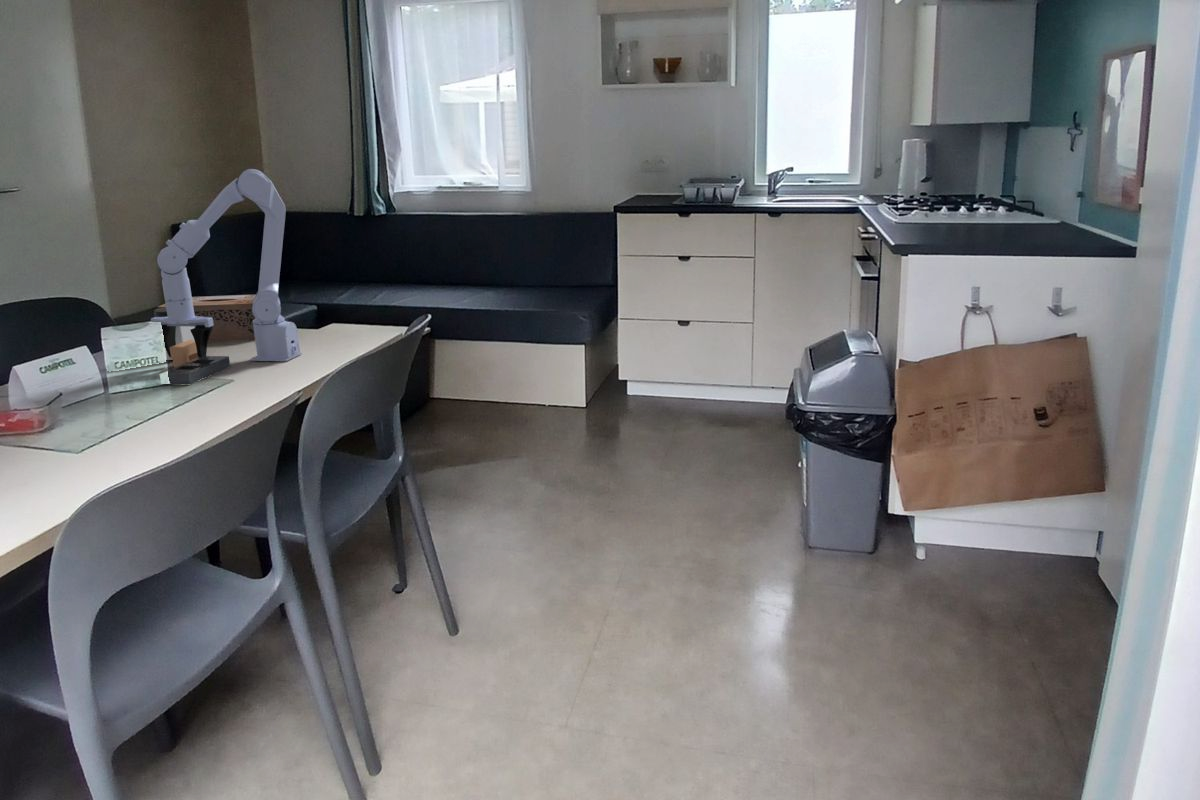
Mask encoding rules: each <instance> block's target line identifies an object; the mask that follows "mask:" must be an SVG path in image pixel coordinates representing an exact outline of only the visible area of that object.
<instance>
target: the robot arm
mask: <svg viewBox="0 0 1200 800" xmlns="http://www.w3.org/2000/svg"><path fill="white" fill-rule="evenodd" d="M245 197H246V198H248V199H249V200H251V201H252V202H254V203H255V204H256V205H257V206H258V208H259V209H260V210H261V211H262V212H263V213H264V224H263V234H262V235H263V236H262V248H261V257H260V259H261V260H260V268H259V269H260V270H259V276H258V277H259V279H258V291H257V292H256V294H255V295H256V296H255V297H254V299H253V306H252V312H253V315H254V316H255V319H254V320H253V328H254V335H255V340H254V342H255V349H256V355H255V356H253V357H251V358H250V359H249V361H250V362H288V361H290V360H292V359H294V358H296V357H298V356H300V355H302V353H303V351H301V349H300V340H299V334H298V333H299V332H298V328H297V325H296V324H295V322H292V321H288V320H285V317H284V316H282V314H281V312H282V307H281V300H280V297H279V287H280V286H279V285H280V275H281V273H280V272H281V264H282V253H283V243H284V242H283V241H284V234H285V222H286V213H287V212H286V210H287V209H286V204H285V203H284V201H283V199H282V198H281V196H280V194H279V193H278V191H277V189H276V187H275V185H274V183H273V181H272V180H271V179H270V178H269V177H268V176H266V174H265V173H264V172H262V171H260V170H259V169H256V168H255V169H254V168H248V169H246V170H244V171H242V173H241V174H240V175H239V177H237V178H235V179H234V180H232V181H231V182H230V183H229V184H227V185H226V186H225V187H223V189H222V190H221V191H220V192H219V193H218V195H216V197H215V198H214V200H212V202H211V203H210V204H209V206H208V207H207V208H206V209H205V210H204V211H203V213H202V214H201V215H200V216H199V218H197V219H190V220H187V221H186V223H185V222H182V223H181V224H180V225H179V231H178V232H176V234H175V235H174V236H173V237H172V238H171V239H168V240H167V241H165V244H166V245H167V246H166V247H164V248H162V249H161V250H160V251H159V253H158V254H157V259H156V261H157V265H158V267H159V268H160V276H161V278H162V279H161V284H162V289H163V296H164V302H165V303H166V310H167V316H168V317H155V316H154V317H151V318H150V322H161V325H162V329H163V335H164V342H165V348H166V351H167V353H168V355H169V357H171V353H170V347H172V346H174V345H176V341H175V333H176V326H196V328H193V329H190V330H191V333H192V335H193V337H194V340H195V343H196V348H197V354H198V357H203V356H207V351H208V349H207V348H208V343H209V342H208V340H209V336H210V334H211V331H212V329H213V327H212V326H213V325H214V324H213V318H212V317H200V316H195V314H194V308H193V301H192V297H193V296H192V290H191V283H190V279H189V276H188V271H187V267H186V266H187V264H188V259H192V258H194V256H195V255H196V254H197V253H198V252H199V251H200V249H201V248H202V247H203V246H204V245H205V244H206V243H207V241H209V239H210V237H211V234H210V233H211V232H210V228H211V227H212V226H213V225H214V224H215V223H216V222H217V221H218V220H219V219H220V217H221V216H222V215H224V213H225V212H227V210H228V209H229V208H230V206H232V205H234V204H236V203H241V202H243V201H244V200H245V199H246V198H245ZM165 303H164V304H165ZM185 323H188V324H185Z"/></svg>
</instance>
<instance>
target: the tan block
mask: <svg viewBox="0 0 1200 800" xmlns="http://www.w3.org/2000/svg"><path fill="white" fill-rule="evenodd" d="M170 353H171V358H172V360H173V361H172V365H173V368H174V367H176V366H178V365H181V364H183V363H186V362H188V361H191V360H193V359H195V358H198V354H197V348H196V343H195V340H188V341H185V342H182V343H180V344H177V345H174V346H172V347H170Z"/></svg>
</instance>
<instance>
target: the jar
mask: <svg viewBox="0 0 1200 800" xmlns="http://www.w3.org/2000/svg"><path fill="white" fill-rule="evenodd" d="M153 314H154V318H155V317H168V316H167V310H166V307H163V308H159V309H158V308H155V309H154V310H153ZM185 324H188V323H185ZM193 328H195V326H176V333H175V341H176V345H177V344H180V343H182V342H185V341H188V340H194V337H193V335H192V333H191V330H190V329H193ZM167 355H168V353H167ZM168 358H169V360H172V358H171V357H169V355H168Z"/></svg>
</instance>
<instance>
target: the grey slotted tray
mask: <svg viewBox="0 0 1200 800" xmlns="http://www.w3.org/2000/svg"><path fill="white" fill-rule="evenodd" d="M229 368H231V363H230V356H227V355H225V356H224V355H223V356H222V355H221V356H220V355H206V356H203V357H198V358H195V359H193V360H191V361H188V362H186V363H183V364H181V365H178V366H176V367H174V366H173V367H172V368H169V369H167V370H168V377H169V381H170V383H171V384H191V383H194V382H196V381H198V380H200V379H202V378H205V377H207V378H208V376H209V377H211V376H213V375H215V373H216V374H217V372H218V373H220V372H221V371H224V370H226V369H229ZM210 375H211V376H210ZM205 379H206V378H205ZM202 380H203V379H202ZM200 381H201V380H200ZM198 382H199V381H198ZM196 383H197V382H196ZM194 384H195V383H194ZM191 385H192V384H191Z"/></svg>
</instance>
